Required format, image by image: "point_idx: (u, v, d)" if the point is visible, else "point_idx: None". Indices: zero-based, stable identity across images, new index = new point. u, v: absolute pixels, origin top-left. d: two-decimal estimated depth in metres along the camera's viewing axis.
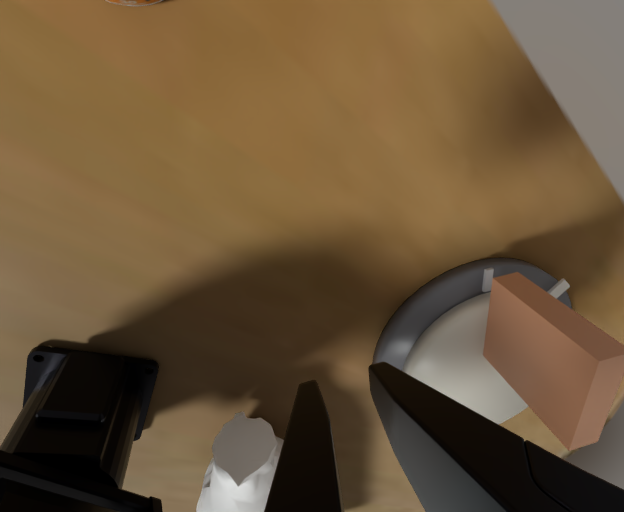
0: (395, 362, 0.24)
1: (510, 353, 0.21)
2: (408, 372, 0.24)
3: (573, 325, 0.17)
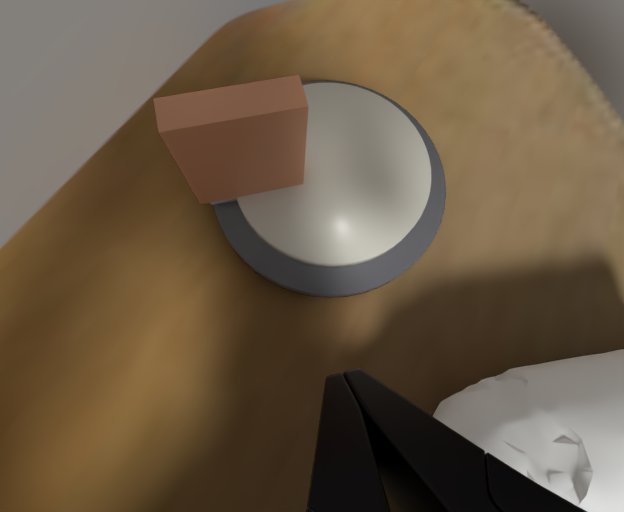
0: (327, 276, 0.21)
1: (263, 172, 0.19)
2: (328, 264, 0.21)
3: None
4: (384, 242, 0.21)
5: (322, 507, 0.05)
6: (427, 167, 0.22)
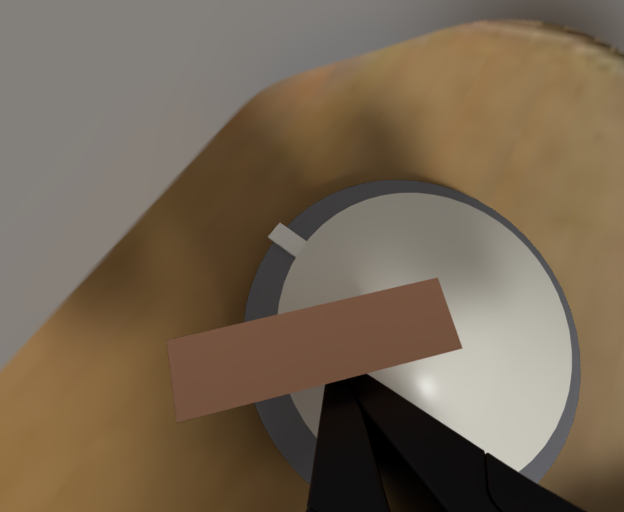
0: None
1: None
2: None
3: None
4: (513, 459, 0.13)
5: (322, 507, 0.05)
6: (562, 326, 0.15)
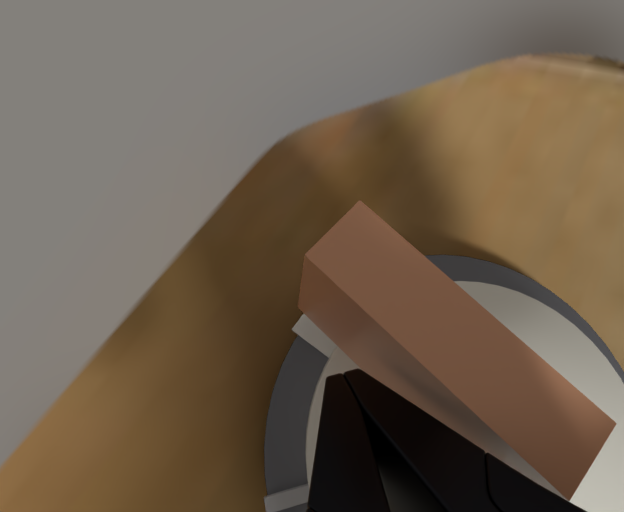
0: None
1: (391, 385, 0.11)
2: None
3: None
4: None
5: (322, 507, 0.05)
6: None
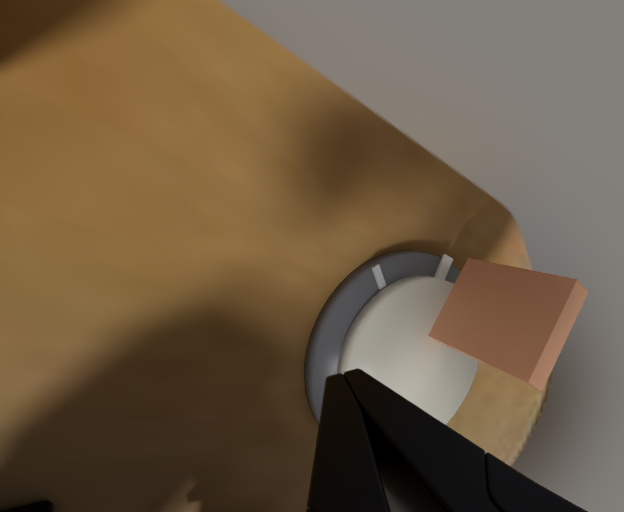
0: None
1: (471, 316, 0.23)
2: (373, 307, 0.22)
3: None
4: (356, 361, 0.22)
5: (322, 507, 0.05)
6: None
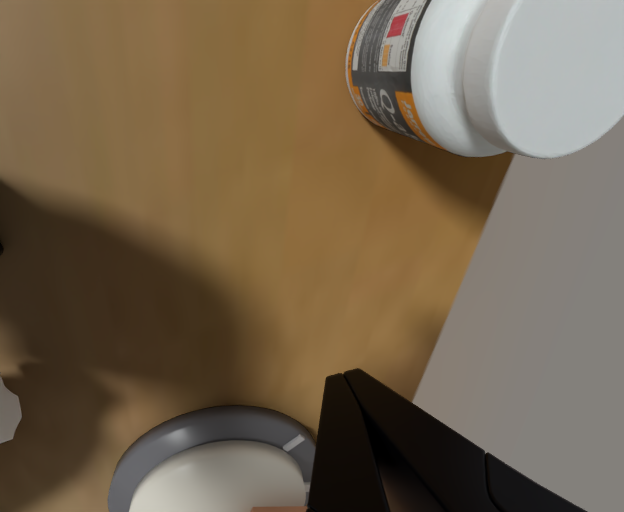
0: (174, 445, 0.23)
1: None
2: (268, 453, 0.24)
3: None
4: (217, 462, 0.23)
5: (322, 507, 0.05)
6: (138, 503, 0.23)
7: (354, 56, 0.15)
